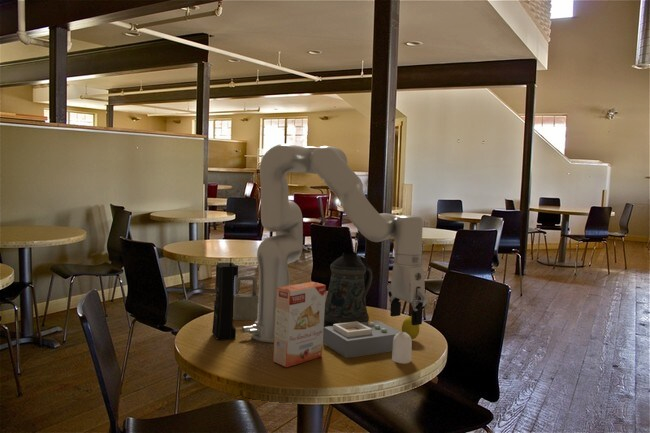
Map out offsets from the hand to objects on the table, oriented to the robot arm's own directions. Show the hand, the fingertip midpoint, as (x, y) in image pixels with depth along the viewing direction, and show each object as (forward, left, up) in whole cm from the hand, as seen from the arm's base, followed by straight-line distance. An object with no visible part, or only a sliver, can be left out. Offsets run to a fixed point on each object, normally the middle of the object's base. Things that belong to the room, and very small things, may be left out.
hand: (405, 320), depth 148 cm
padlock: (-27, +54, -12) cm, 62 cm away
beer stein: (+3, +36, -12) cm, 38 cm away
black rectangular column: (-40, +38, -12) cm, 57 cm away
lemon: (+13, +13, -12) cm, 22 cm away
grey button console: (-4, +14, -12) cm, 19 cm away
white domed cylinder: (0, 0, -12) cm, 12 cm away
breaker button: (-8, +14, -9) cm, 19 cm away
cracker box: (-27, +11, -12) cm, 32 cm away
